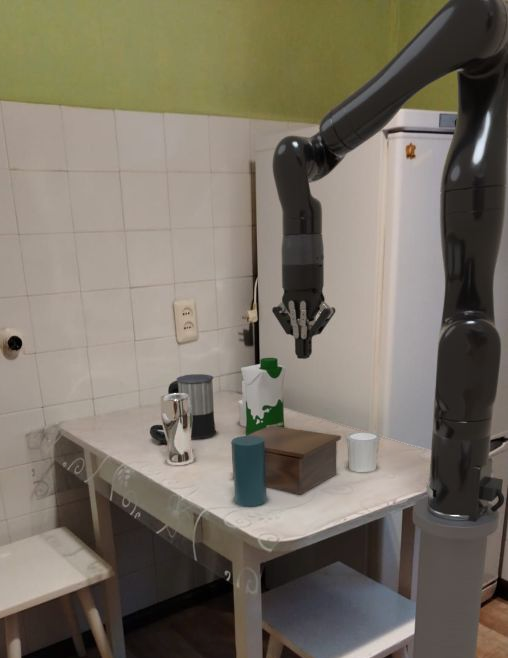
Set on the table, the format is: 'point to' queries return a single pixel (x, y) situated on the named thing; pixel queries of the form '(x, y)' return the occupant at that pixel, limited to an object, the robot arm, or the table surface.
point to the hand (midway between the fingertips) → (303, 357)
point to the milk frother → (194, 405)
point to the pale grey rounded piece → (242, 407)
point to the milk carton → (264, 395)
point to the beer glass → (177, 427)
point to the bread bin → (299, 470)
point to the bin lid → (294, 441)
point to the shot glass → (362, 451)
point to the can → (249, 470)
